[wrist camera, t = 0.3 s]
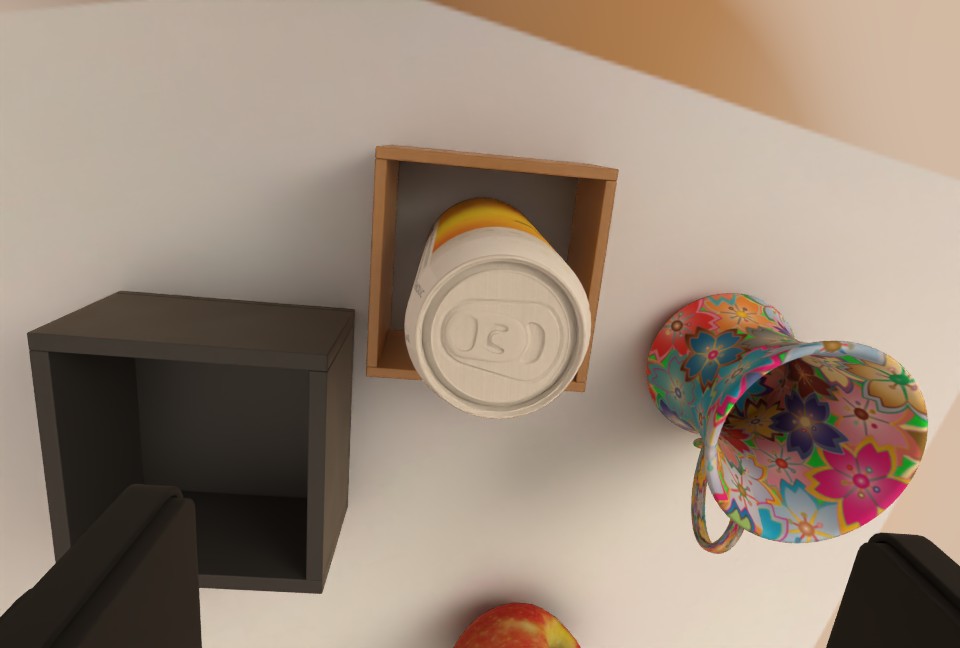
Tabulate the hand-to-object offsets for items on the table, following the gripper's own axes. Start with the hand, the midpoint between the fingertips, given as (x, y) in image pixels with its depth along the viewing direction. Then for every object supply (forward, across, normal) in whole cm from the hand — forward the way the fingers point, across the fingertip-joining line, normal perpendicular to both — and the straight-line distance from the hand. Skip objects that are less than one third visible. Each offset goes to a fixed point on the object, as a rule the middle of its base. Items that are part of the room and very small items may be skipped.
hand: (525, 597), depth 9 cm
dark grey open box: (+26, +13, +10) cm, 30 cm away
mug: (+26, -14, +6) cm, 30 cm away
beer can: (+26, 0, 0) cm, 26 cm away
